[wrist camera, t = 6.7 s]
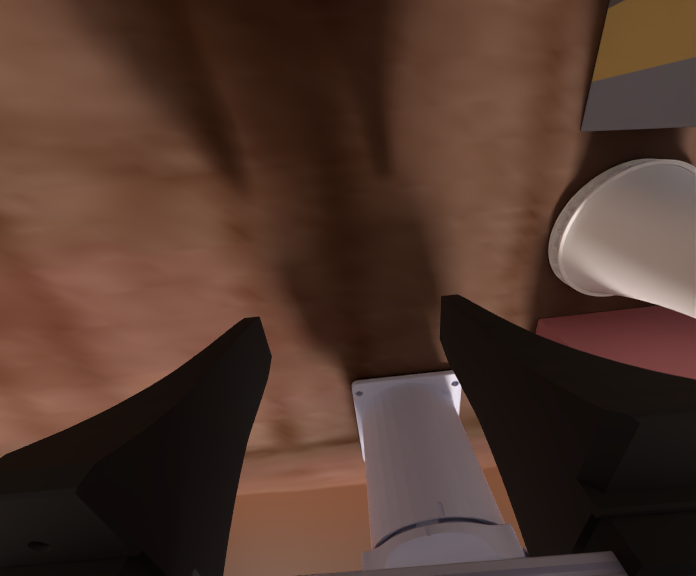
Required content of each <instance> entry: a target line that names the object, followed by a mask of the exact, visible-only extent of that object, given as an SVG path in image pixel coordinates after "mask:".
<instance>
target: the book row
mask: <svg viewBox="0 0 696 576" xmlns="http://www.w3.org/2000/svg"><path fill="white" fill-rule="evenodd" d="M678 127H696V0H610V2H609V7H608V11H607V16H606V20H605V24H604V29H603V33H602V38H601V42H600V47H599V51H598V56H597V60H596V65H595V69H594V74H593V78H592V83H591V87H590V91H589V96H588V100H587V105H586V109H585V114H584V118H583V123H582V127H581V132H584V131H607V130H631V129H654V128H678ZM535 334H537V335H539V336H542V337H545V338H547V339H550V340H552V341H555V342H557V343H560V344H563V345H566V346H569V347H571V348H574V349H577V350H581V351H584V352H587V353H590V354H593V355H596V356H600V357H603V358H607V359H610V360H614V361H617V362H621V363H625V364H629V365H633V366H637V367H641V368H645V369H649V370H653V371H657V372H662V373H667V374H672V375H677V376H682V377H687V378H692V379H696V318H693V317H691V316H688V315H685V314H683V313H680V312H677V311H675V310H672V309H669V308H666V307H663V306H660V305H658V306H650V307H641V308H632V309H623V310H614V311H605V312H596V313H588V314H579V315H570V316H561V317H552V318H543V319H538V324H537V328H536V333H535Z"/></svg>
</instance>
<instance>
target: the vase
mask: <svg viewBox="0 0 696 576" xmlns="http://www.w3.org/2000/svg"><path fill="white" fill-rule="evenodd" d="M684 168H685V169H684ZM548 256H549V262H550V265H551V268H552V270H553V272H554V273H555V275H556V276H557V277H558V278H559V279H560V280H561V281H563V282H564V283H565V284H567V285H569V286H571V287H572V288H573V289H575V290H577V291H578V292H581V293H583V294H586V295H590V296H600V297H604V296H614V295H619V296H624V297H629V298H634V299H638V300H642V301H646V302H650V303H653V304H656V305H660V306H663V307H666V308H669V309H672V310H675V311H677V312H680V313H683V314H685V315H688V316H691V317H693V318H696V167H694V166H693V165H691V164H688V163H686V162H683V161H679V160H670V159H637V160H632V161H628V162H625V163H622V164H619V165H617V166H614V167H612V168H610V169H608V170H606V171H604V172H603V173H601V174H599V175H598V176H596V177H595V178H593V179H592V180H591V181H589V182H588V183H587V184H586V185H584V186H583V187H582V188H581V189H580V190H579V191H578V192H577V193H576V194H575V195H574V196H573V197H572V198H571V199H570V201H569V202H568V203H567V204H566V206H565V207H564V208H563V210H562V211H561V213H560V215H559V216H558V218H557V220H556V222H555V224H554V227H553V229H552V232H551V235H550V239H549V246H548Z"/></svg>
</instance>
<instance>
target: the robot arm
mask: <svg viewBox="0 0 696 576" xmlns="http://www.w3.org/2000/svg"><path fill="white" fill-rule="evenodd" d="M440 341H441V344H442V346H443V349H444V352H445V355H446V357H447V360H448V362H449V364H450V366H451V368H452V370H450V371H440V372H431V373H422V374H412V375H403V376H394V377H384V378H375V379H366V380H357V381H354V382H353V383H352V393H353V400H354V406H355V412H356V418H357V424H358V430H359V437H360V443H361V449H362V455H363V460H364V461H365V467H366V480H367V492H368V506H369V518H370V532H371V546H372V550H370V551H366V552H363V553H362V567H363V571H350V572H339V573H324V574H312V575H299V576H696V379H692V378H687V377H682V376H677V375H672V374H667V373H662V372H657V371H653V370H649V369H645V368H641V367H637V366H633V365H629V364H625V363H621V362H617V361H614V360H610V359H607V358H603V357H600V356H596V355H593V354H590V353H587V352H584V351H581V350H577V349H574V348H571V347H569V346H566V345H563V344H560V343H557V342H555V341H552V340H550V339H547V338H545V337H542V336H539V335H537V334H535V333H532V332H530V331H528V330H526V329H523V328H521V327H519V326H517V325H515V324H513V323H511V322H509V321H507V320H505V319H503V318H501V317H499V316H497V315H495V314H493V313H491V312H489V311H488V310H486V309H484V308H482V307H480V306H478V305H477V304H475V303H473V302H471V301H469V300H468V299H466V298H464V297H462V296H460V295H448V296H441V320H440ZM271 358H272V356H271V353H270V349H269V346H268V343H267V340H266V336H265V333H264V330H263V326H262V323H261V320H260V317H251V318H244V319H243V320H241V321H240V322H238V323H237V324H235V325H234V326H233V327H232V328H230V329H229V330H228V331H227V332H225V333H224V334H223V335H222V336H220V337H219V338H218V339H217V340H215V341H214V342H213V343H212V344H210V345H209V346H208V347H207V348H205V349H204V350H203V351H201V352H200V353H198V354H197V355H196V356H194V357H193V358H192V359H190V360H189V361H188V362H186V363H185V364H184V365H182V366H181V367H179V368H178V369H176V370H175V371H173V372H172V373H170V374H169V375H167V376H166V377H164V378H163V379H161V380H159V381H158V382H156V383H155V384H153V385H151V386H150V387H148V388H146V389H144V390H143V391H141V392H139V393H137V394H135V395H134V396H132V397H130V398H128V399H126V400H125V401H123V402H121V403H119V404H117V405H115V406H114V407H112V408H110V409H108V410H106V411H104V412H102V413H100V414H98V415H96V416H94V417H91V418H89V419H87V420H85V421H83V422H81V423H79V424H77V425H74V426H72V427H70V428H68V429H65V430H63V431H61V432H59V433H56V434H54V435H51V436H49V437H47V438H44V439H42V440H40V441H37V442H35V443H32V444H30V445H28V446H25V447H23V448H20V449H18V450H15V451H13V452H10V453H8V454H6V455H4V456H3V457H1V458H0V576H223V572H224V566H225V558H226V551H227V545H228V539H229V532H230V527H231V521H232V515H233V509H234V503H235V498H236V493H237V488H238V483H239V478H240V473H241V469H242V464H243V460H244V455H245V451H246V446H247V442H248V439H249V435H250V432H251V429H252V426H253V423H254V420H255V417H256V414H257V411H258V408H259V405H260V402H261V399H262V396H263V393H264V390H265V386H266V383H267V380H268V375H269V370H270V364H271ZM454 381H455V382H454ZM461 387H462V389H463V391H464V393H465V394H466V396H467V398H468V400H469V402H470V404H471V406H472V408H473V409H474V411H475V413H476V416H477V418H478V420H479V422H480V424H481V427H482V429H483V432H484V434H485V436H486V439H487V441H488V444H489V446H490V449H491V451H492V454H493V456H494V459H495V462H496V464H497V467H498V469H499V472H500V475H501V477H502V480H503V483H504V485H505V488H506V491H507V494H508V496H509V499H510V502H511V505H512V508H513V510H514V513H515V516H516V519H517V522H518V524H519V528H520V531H521V533H522V537H523V539H524V542H525V545H526V547H523V550H522V547H521V545H520V543H519V541H518V538H517V536H516V534H515V532H514V529H513V527H512V525H511V524H510V523H507V524H505V523H504V520H503V518H502V516H501V513H500V511H499V509H498V506H497V504H496V502H495V499H494V497H493V495H492V493H491V490H490V488H489V485H488V483H487V481H486V478H485V476H484V474H483V471H482V469H481V467H480V464H479V462H478V460H477V457H476V455H475V453H474V450H473V448H472V446H471V443H470V441H469V439H468V436H467V434H466V432H465V430H464V427H463V425H462V423H461V420H460V418H459V410H460V398H461ZM358 391H361V392H358Z"/></svg>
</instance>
